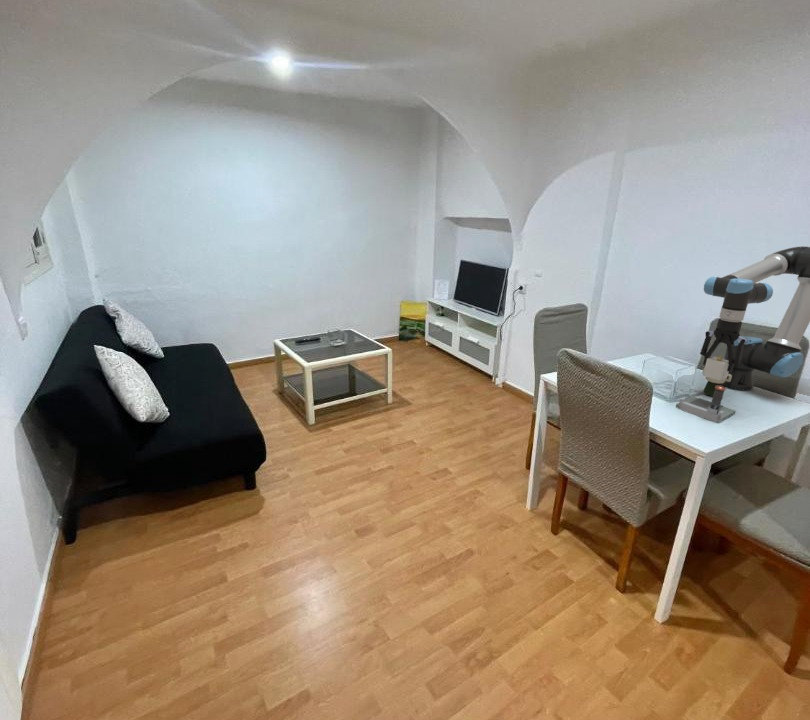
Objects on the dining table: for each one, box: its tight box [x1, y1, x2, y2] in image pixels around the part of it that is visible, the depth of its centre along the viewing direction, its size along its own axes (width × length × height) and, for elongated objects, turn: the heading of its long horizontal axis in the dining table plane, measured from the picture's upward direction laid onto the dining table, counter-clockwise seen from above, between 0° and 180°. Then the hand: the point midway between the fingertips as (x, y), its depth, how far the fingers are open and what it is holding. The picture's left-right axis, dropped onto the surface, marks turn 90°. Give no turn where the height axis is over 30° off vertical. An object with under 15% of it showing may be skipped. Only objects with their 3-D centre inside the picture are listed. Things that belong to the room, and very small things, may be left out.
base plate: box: [675, 396, 737, 424], centre depth 174 cm, size 15×16×4 cm
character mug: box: [701, 368, 732, 397], centre depth 188 cm, size 11×7×13 cm, turn 36°
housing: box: [702, 355, 729, 380], centre depth 171 cm, size 6×6×9 cm
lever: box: [707, 385, 727, 415], centre depth 165 cm, size 3×3×11 cm
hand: (714, 375), depth 173 cm, fingers closed on housing, 6 cm apart
